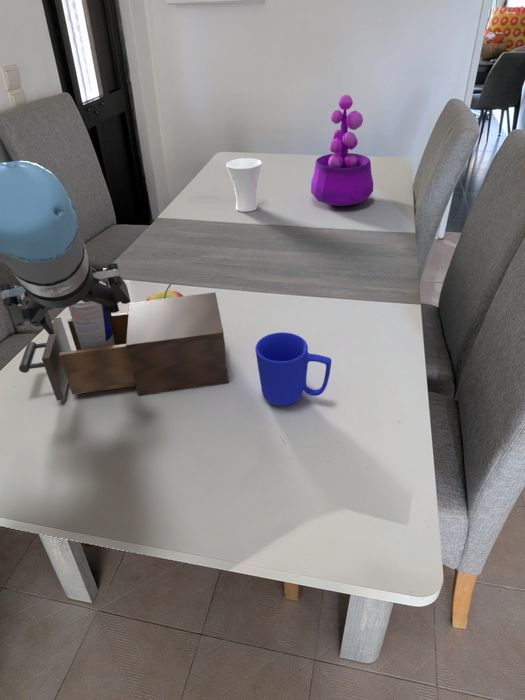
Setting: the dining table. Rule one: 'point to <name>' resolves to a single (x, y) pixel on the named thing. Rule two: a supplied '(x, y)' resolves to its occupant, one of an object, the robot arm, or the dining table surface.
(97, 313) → the beverage can
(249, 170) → the cup
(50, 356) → the drawer
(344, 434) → the dining table surface
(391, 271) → the dining table surface
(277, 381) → the mug
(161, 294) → the apple
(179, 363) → the cabinet
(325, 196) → the decorative plant
